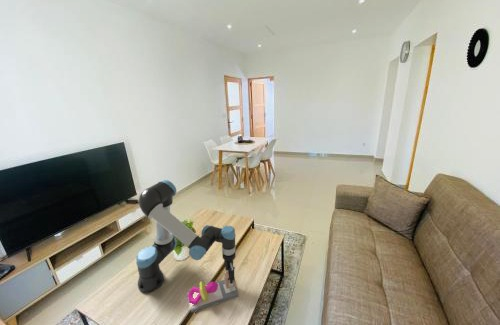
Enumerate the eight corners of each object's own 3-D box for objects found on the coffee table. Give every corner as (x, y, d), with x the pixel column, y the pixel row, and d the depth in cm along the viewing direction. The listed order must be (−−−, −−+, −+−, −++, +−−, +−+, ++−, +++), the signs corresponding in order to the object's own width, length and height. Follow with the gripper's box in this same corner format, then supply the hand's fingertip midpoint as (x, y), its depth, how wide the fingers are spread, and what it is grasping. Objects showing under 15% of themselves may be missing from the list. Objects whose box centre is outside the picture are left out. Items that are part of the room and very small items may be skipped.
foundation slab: (190, 313, 117) (189, 311, 117) (187, 293, 128) (187, 291, 128) (238, 296, 127) (238, 294, 127) (232, 278, 139) (232, 277, 138)
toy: (189, 291, 129) (183, 286, 121) (217, 278, 132) (213, 273, 124) (192, 309, 122) (186, 306, 115) (222, 295, 125) (218, 291, 118)
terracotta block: (226, 288, 127) (226, 280, 125) (224, 282, 131) (224, 273, 129) (234, 286, 129) (234, 277, 127) (232, 279, 133) (232, 271, 131)
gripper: (240, 260, 115) (240, 292, 123) (230, 239, 131) (231, 269, 139) (226, 264, 113) (227, 296, 120) (218, 242, 128) (219, 272, 136)
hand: (229, 282), depth 130 cm, fingers closed on terracotta block, 5 cm apart
